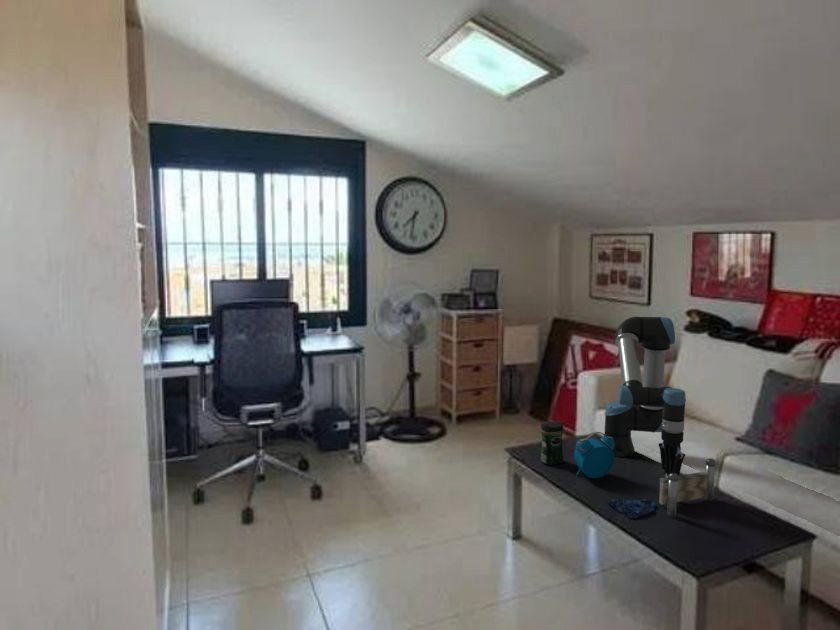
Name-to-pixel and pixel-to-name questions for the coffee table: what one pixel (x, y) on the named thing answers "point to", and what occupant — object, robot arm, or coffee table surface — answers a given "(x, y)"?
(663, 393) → the robot arm
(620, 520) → the coffee table surface
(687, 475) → the gate
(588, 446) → the alarm clock
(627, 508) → the rock
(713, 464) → the gate posts
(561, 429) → the coffee jar
